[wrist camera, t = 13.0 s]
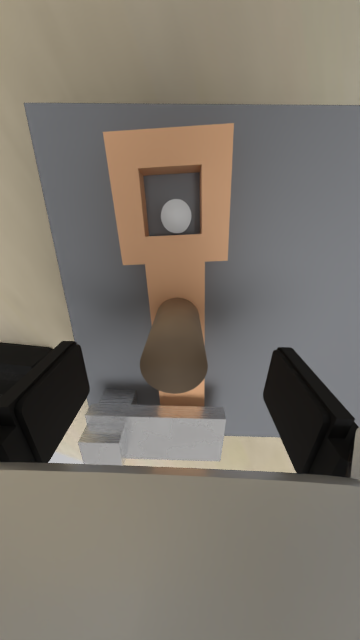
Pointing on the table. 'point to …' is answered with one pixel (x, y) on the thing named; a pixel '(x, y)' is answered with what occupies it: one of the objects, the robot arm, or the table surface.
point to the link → (173, 245)
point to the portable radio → (18, 363)
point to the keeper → (149, 431)
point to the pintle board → (243, 248)
